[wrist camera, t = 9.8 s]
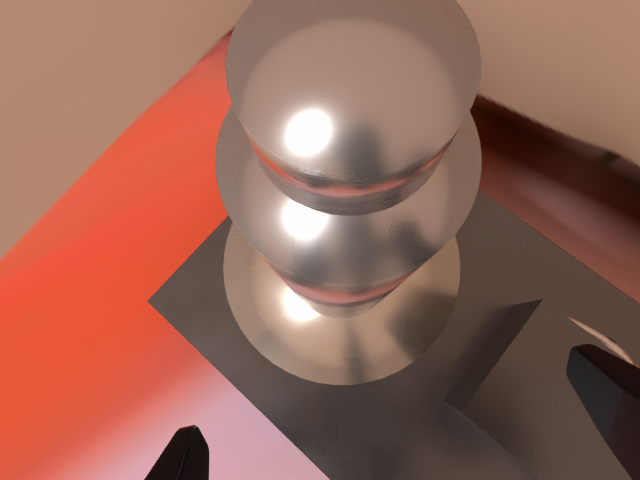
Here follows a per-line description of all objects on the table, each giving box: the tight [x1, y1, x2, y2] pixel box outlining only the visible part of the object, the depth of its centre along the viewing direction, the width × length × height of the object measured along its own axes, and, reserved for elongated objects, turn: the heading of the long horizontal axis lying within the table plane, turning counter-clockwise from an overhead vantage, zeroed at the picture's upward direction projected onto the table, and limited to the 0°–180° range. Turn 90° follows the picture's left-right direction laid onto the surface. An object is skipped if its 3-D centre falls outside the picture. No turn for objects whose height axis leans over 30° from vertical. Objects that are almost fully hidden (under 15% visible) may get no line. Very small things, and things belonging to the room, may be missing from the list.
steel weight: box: [215, 0, 482, 318], centre depth 11 cm, size 5×5×14 cm
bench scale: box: [148, 189, 640, 480], centre depth 18 cm, size 20×15×6 cm
